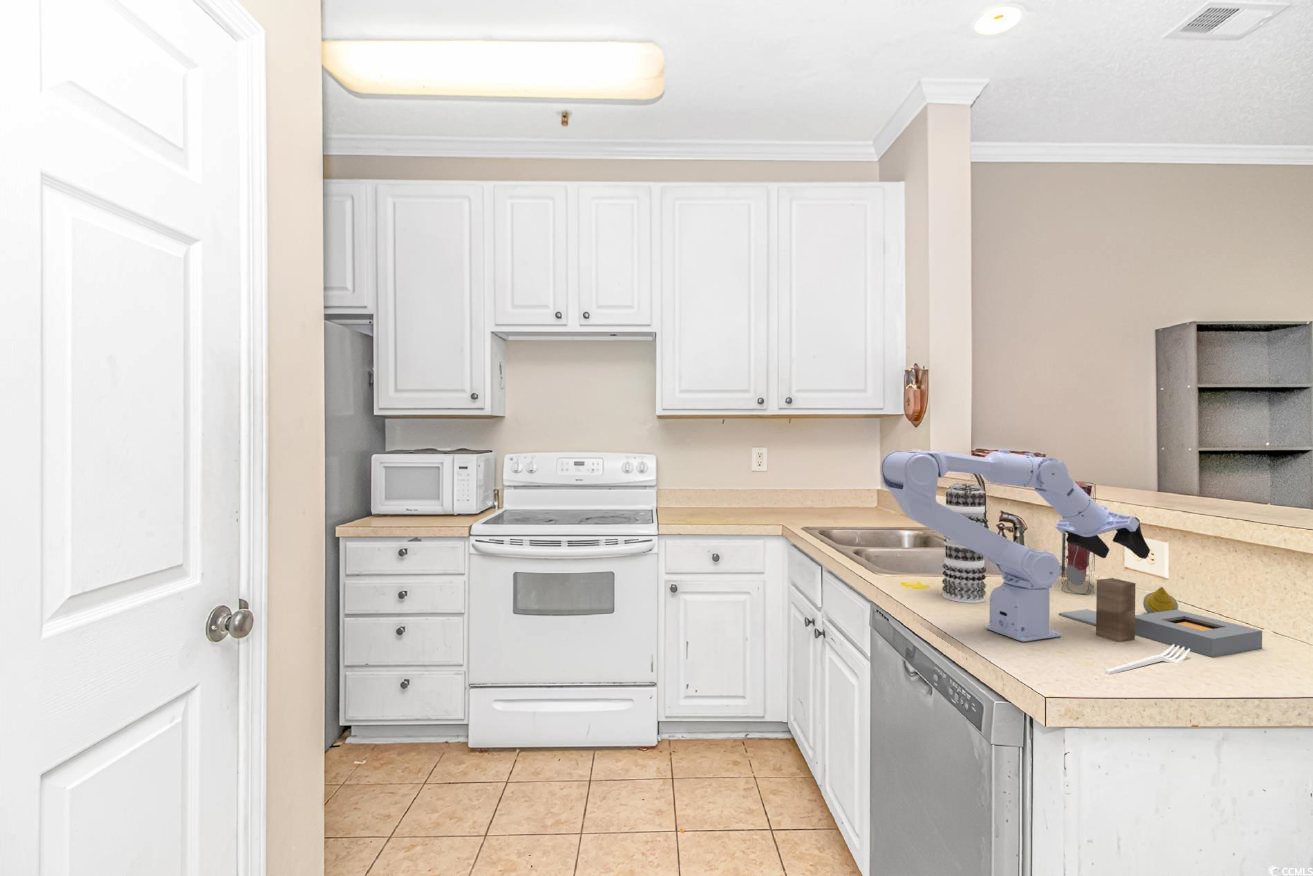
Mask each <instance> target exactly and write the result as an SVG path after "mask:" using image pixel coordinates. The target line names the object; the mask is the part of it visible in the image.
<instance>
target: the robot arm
mask: <svg viewBox="0 0 1313 876" xmlns="http://www.w3.org/2000/svg"><path fill="white" fill-rule="evenodd" d="M948 472H955V473H962V474H973V475H974V474H976V475H982V477H983V478H984V479H985V480H986V481H987V482H988V483H990V484H998V485H1007V486H1016V487H1022V488H1033V489H1034V491H1035V492H1036V493H1037V494H1039V496H1041V498H1042V499H1043V500H1044V501H1045V502H1046V503H1048V505H1050V506H1051V508H1053V509H1054V510H1055V511H1056V512H1057V513H1058V514H1059V515H1060V516H1061V517H1062V518H1061V519H1058V521H1057V523H1056V524H1055V528H1056V529H1057V530H1058V532H1060V533H1061V534H1062V533H1065V534H1066V536H1067V537H1066V538H1065V542H1067V544H1068V543H1070V544H1074V545H1077V546H1080V547H1082V548H1085V549H1087V550H1089V551H1090V553H1092V554H1093V553H1094V554H1095V556H1097V557H1100V558H1101V559H1106V558H1107V556H1108V554H1109V552H1110V548H1109V547H1108V544H1106V543H1105V542H1104V541H1103V539H1102V538H1101V537H1100V536H1099V535H1102V534H1106V533H1108V532H1113V531H1116V533H1115V535H1113V538H1112V540H1111V541H1112V542H1113V543H1116V544H1119V545H1121V546H1123V547H1125V548H1126V549H1128V550H1130V551H1131V552H1132V553H1133V554H1135V556H1137V557H1139V558H1140V559H1142V560H1143V559H1144V560H1146V559H1148V556H1149V554H1150V552H1151V549H1150V548H1149V545H1148V543H1147V542H1146V539H1144V536H1143V535H1144V534H1143V532H1142V529H1141V521H1140V519H1139V518H1138V517H1135V516H1134V515H1126V514H1125V515H1124V514H1121V513H1117V512H1114V511H1110V510H1108V507H1107V506H1106V505H1104V504H1100V505H1099V504H1098V502H1095V499H1094V500H1093V497H1092V496H1089V495H1088V494H1086V493H1085V492H1084V491H1083V490H1082V489H1081V488H1080V487H1079V486H1078V485H1077V484H1076V483H1075V482H1076V481H1074V479H1072V478H1071V476H1069V470H1068V467H1067V464H1065V462H1064V461H1059V460H1058V459H1056V458H1053V457H1045V456H1044V457H1042V456H1035V453H1031V452H1030V453H1029V452H1025V453H1024V454H1017V453H1011V451H1010V449H1004V448H998V450H997V451H992V452H989V453H988V454H987V455H985V456H984V457H983V456H976V455H972V454H971V455H969V454H963V453H955V452H951V451H943V450H908V451H907V452H905V451H902V450H893V451H889V453H887V454H885V456H884V457H883V458H882V460H881V463H880V475H881V481H882V485H883V486H884V487H885V488H886V489H888V491H889V492H890V493H891V494H892V496H893V498H894V499H895V501H896V503H897V504H898V506H899V507H900V509H901V510H902V512H903V514H904V515H905V516H906V517H908V518H909V519H910V520H912V521H913V522H914V521H915V522H916V523H918V524H920V525H922V526H924V527H926V528H928V529H930V530H931V531H934V532H936V533H938V534H939V535H942V536H943V537H944V536H945V537H944V538H946V537H947V538H949V539H951V540H953V541H955V542H957V543H959V544H961V545H963V546H965V547H967V548H969V549H971V550H972V551H974V552H976V553H978V554H980V555H982V556H983V558H986V560H987V561H989V562H990V563H992V564H993V565H995V567H996V568H997V569H998V571H999V572H1000V573H1001V580H1003V583H1002V584H1000V586H997V587H995V588H994V589H992V591H991V593H990V595H989V624H988V625H985V629H987V630H989V631H993V632H995V633H998V634H1000V635H1003V636H1005V637H1009V638H1010V639H1011V638H1012V639H1015V640H1017V641H1019V642H1023V643H1024V642H1030V641H1037V640H1044V639H1053V638H1057V637H1062V633H1061V632H1058V631H1055V630H1052V629H1050V607H1051V606H1050V601H1051V599H1050V598H1051V597H1050V595H1051V593H1050V592H1051V589H1052V588H1053V585H1054V584H1055V583H1056V582H1057V580H1058V579H1059V577H1060V575H1061V563H1060V560H1059V559H1058V557H1057V556H1056V555H1055V554H1053V553H1051V552H1049V551H1045V550H1040V549H1039V550H1038V549H1035V548H1032V547H1027V546H1025V545H1022V544H1021V543H1019V542H1015V541H1013V540H1010V539H1008V538H1007V537H1004V536H1002V535H1000V534H998V533H997V532H995V531H993V530H990V529H989V528H988V529H987V528H985V527H983V526H984V525H983V526H981V525H980V524H978V523H976V522H974V521H972V520H970V519H968V518H966V517H964V516H962V515H960V514H958V513H956V512H955V511H953V510H951V509H949V508H947V507H945V505H943V504H941V503H939V502H937V491H938V490H937V489H938V480H939V478H940V479H941V478H944V477H945V475H946V474H947V473H948ZM1063 518H1064V519H1063Z"/></svg>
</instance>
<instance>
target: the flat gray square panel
mask: <svg viewBox="0 0 1313 876" xmlns="http://www.w3.org/2000/svg"><path fill="white" fill-rule="evenodd" d="M1058 616H1062V617H1065V618H1067V619H1070V620H1071V619H1072V620H1074V621H1077V622H1082V623H1084V624H1087V625H1091V626H1095V627H1096V610H1092V609H1088V608H1086V609H1078V610H1070V611H1064V612H1062V611H1061V612H1059V613H1058Z"/></svg>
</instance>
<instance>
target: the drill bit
mask: <svg viewBox="0 0 1313 876" xmlns="http://www.w3.org/2000/svg"><path fill="white" fill-rule="evenodd" d="M1142 605H1143V608H1144V611H1146V613H1147V614H1148V613H1155V612H1162V611H1170V610H1179V604H1178V602H1177V600H1176V599H1175V598H1174V597H1173V596H1172V595H1170V594H1169V593H1168V592H1167V591H1166V590H1165V588H1164V586H1160V587H1159V588H1158V589H1156V590H1155V591H1153V592H1148V593H1147V594H1145V596H1144V597H1143V604H1142Z"/></svg>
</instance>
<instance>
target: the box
mask: <svg viewBox="0 0 1313 876" xmlns="http://www.w3.org/2000/svg"><path fill="white" fill-rule="evenodd" d="M1074 482H1075V483H1076V484H1077V485H1078V486H1079V487H1080V488H1081V489H1082V490H1083V491H1084V492H1085V493H1086V494H1088V495H1089V496H1090V497H1092V499H1093V500H1094V501H1095V502H1096V500H1097V499H1096V498H1097V497H1096V495H1097V493H1096V492H1097V491H1096V489H1097V486H1096V485H1097V484H1095V483H1092V482H1088V481H1087V482H1086V481H1074ZM1093 486H1094V487H1093ZM1092 488H1093V489H1094V493H1092V492H1093V490H1092ZM1096 503H1097V502H1096ZM1062 519H1064V518H1063V517H1062ZM1061 535H1062V536H1061V537H1062V538H1061V540H1062V541H1061V542H1062V543H1061V550H1062V553H1061V579H1062V581H1064V582H1067V583H1066V584H1068V582H1069V583H1070V584H1071V585H1074V586H1079V587H1080V586H1083V585H1084V584H1085V582H1087V583H1088V584H1089V586H1092V587H1093V585H1092V584H1091V583H1090V582H1091V581H1090V579H1088V581H1087V580H1086V577H1088V575H1087V568H1089V566H1090V555H1091V554H1090V553H1091V552H1090V551H1089V550H1087V549H1085V548H1082V547H1080V546H1077V545H1074V544H1070V543H1068V542H1067V547H1066V538H1067V537H1066V536H1067V533H1061ZM1066 550H1067V554H1066ZM1092 554H1093V556H1092V558H1093V560H1092V561H1091V564H1093V570H1095V564H1096V562H1095V560H1096V559H1095V557H1096V554H1094V553H1092ZM1066 555H1067V556H1066ZM1065 563H1066V566H1065ZM1092 572H1093V571H1091V575H1090V577H1093V576H1092V575H1093V573H1092ZM1064 577H1065V578H1066V579H1065V578H1064ZM1064 582H1061V585H1062V587H1061V591H1062V592H1064V593H1068V594H1070V592H1071V593H1072V594H1073V595H1074V594H1075V595H1084V596H1085V595H1086V596H1088V595H1090V593H1091V592H1092V590H1090V587H1088V589H1087V591H1086V593H1079V592H1076V591H1072V590H1071V589H1070V588H1069V586H1068V585H1066V587H1067V589H1068V590H1069V591H1070V592H1068V591H1065V590H1063V588H1064V584H1065V583H1064ZM1089 590H1090V591H1089ZM1088 592H1089V593H1088Z"/></svg>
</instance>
